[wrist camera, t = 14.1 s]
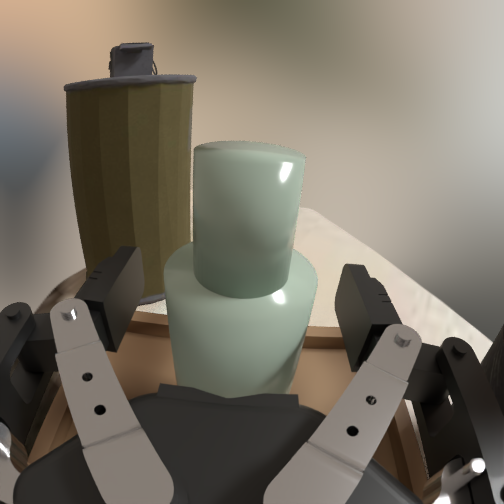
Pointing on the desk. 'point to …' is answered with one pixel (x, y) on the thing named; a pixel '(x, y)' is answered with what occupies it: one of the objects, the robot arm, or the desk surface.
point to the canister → (132, 162)
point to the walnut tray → (304, 384)
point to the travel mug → (495, 368)
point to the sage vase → (241, 273)
